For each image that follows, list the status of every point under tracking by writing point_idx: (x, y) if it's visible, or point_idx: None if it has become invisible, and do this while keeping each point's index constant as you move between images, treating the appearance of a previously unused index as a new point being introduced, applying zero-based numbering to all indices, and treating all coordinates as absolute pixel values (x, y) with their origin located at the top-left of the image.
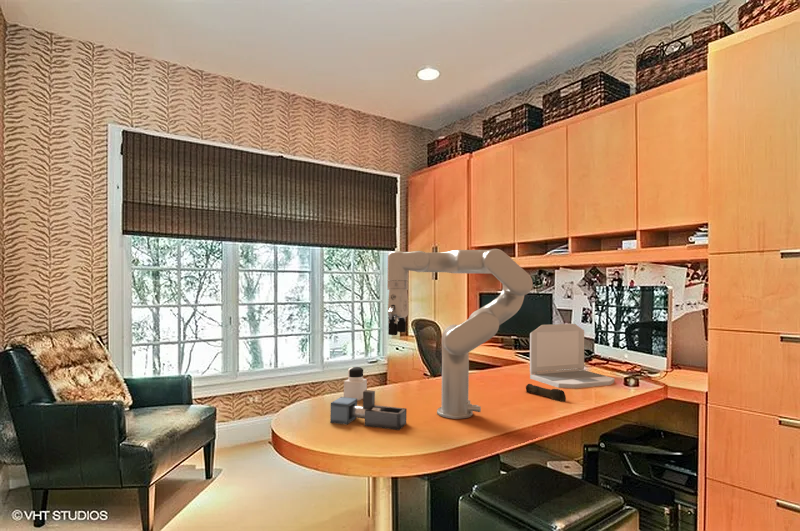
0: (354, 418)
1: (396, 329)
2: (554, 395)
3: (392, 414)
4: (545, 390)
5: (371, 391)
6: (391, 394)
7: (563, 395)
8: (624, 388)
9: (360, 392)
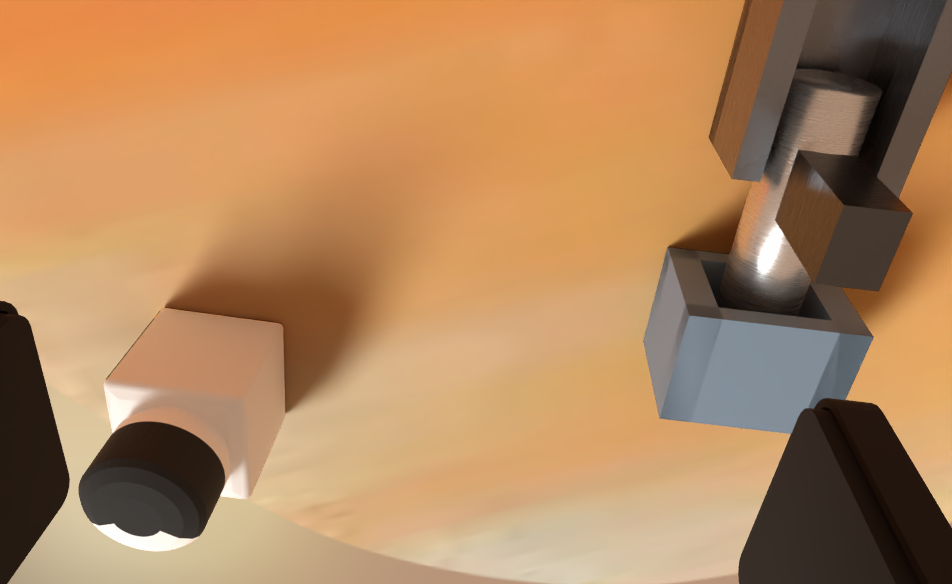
0: (707, 254)
1: (939, 544)
2: None
3: None
4: None
5: (867, 228)
6: (13, 155)
7: None
8: None
9: (258, 351)
